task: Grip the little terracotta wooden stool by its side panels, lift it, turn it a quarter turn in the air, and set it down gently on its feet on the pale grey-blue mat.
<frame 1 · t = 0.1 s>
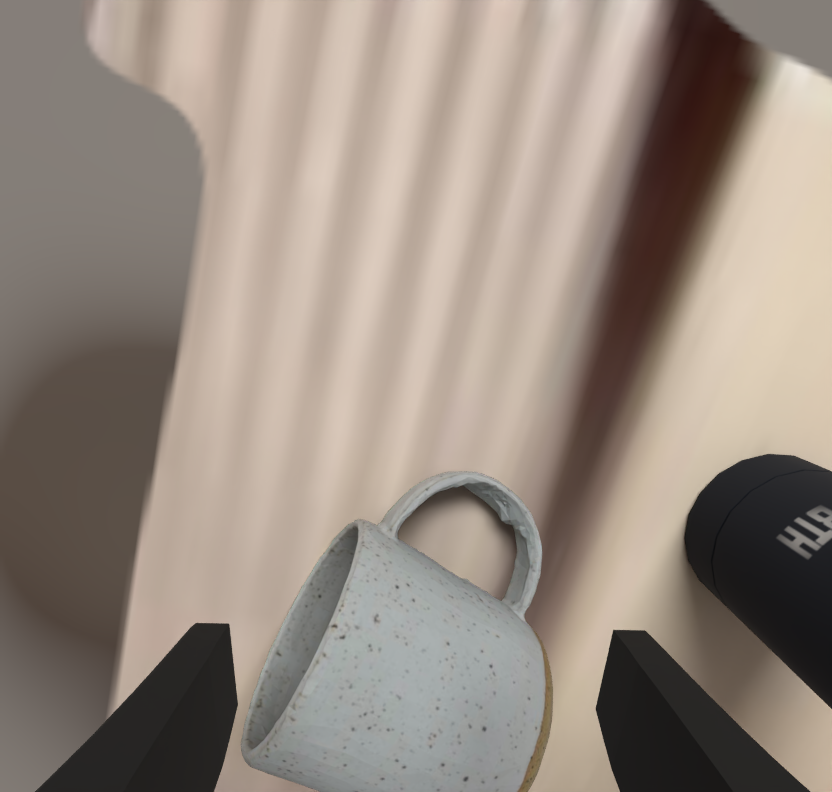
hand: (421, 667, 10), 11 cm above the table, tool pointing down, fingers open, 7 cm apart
ceramic mug: (413, 577, 22), on the table
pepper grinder: (759, 527, 21), on the table
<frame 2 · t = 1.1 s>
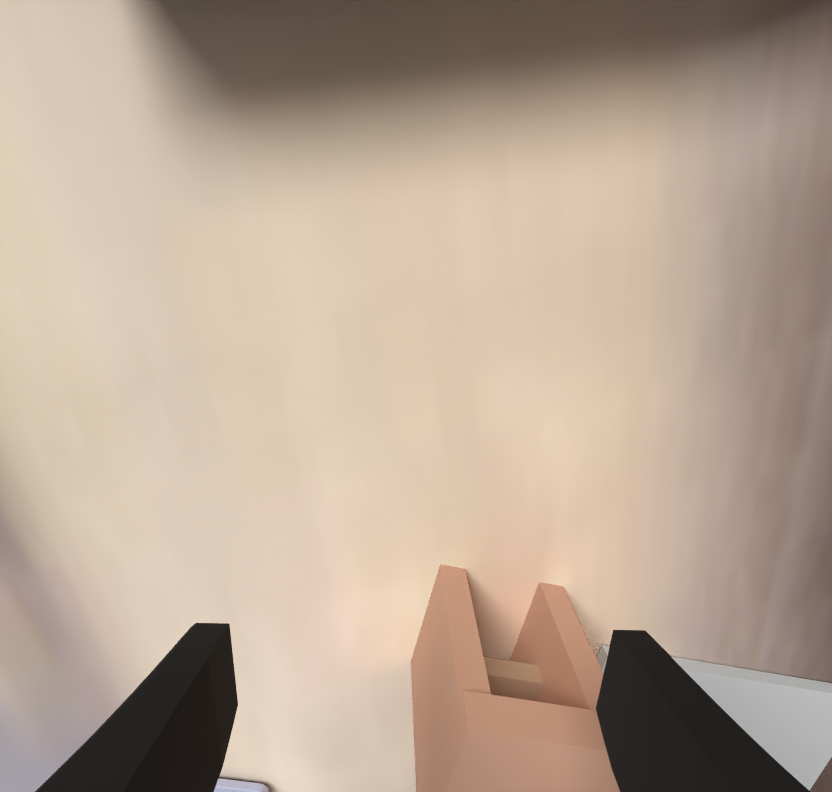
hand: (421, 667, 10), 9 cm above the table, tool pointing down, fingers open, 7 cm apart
stool: (485, 625, 21), on the table
mat: (679, 767, 24), on the table
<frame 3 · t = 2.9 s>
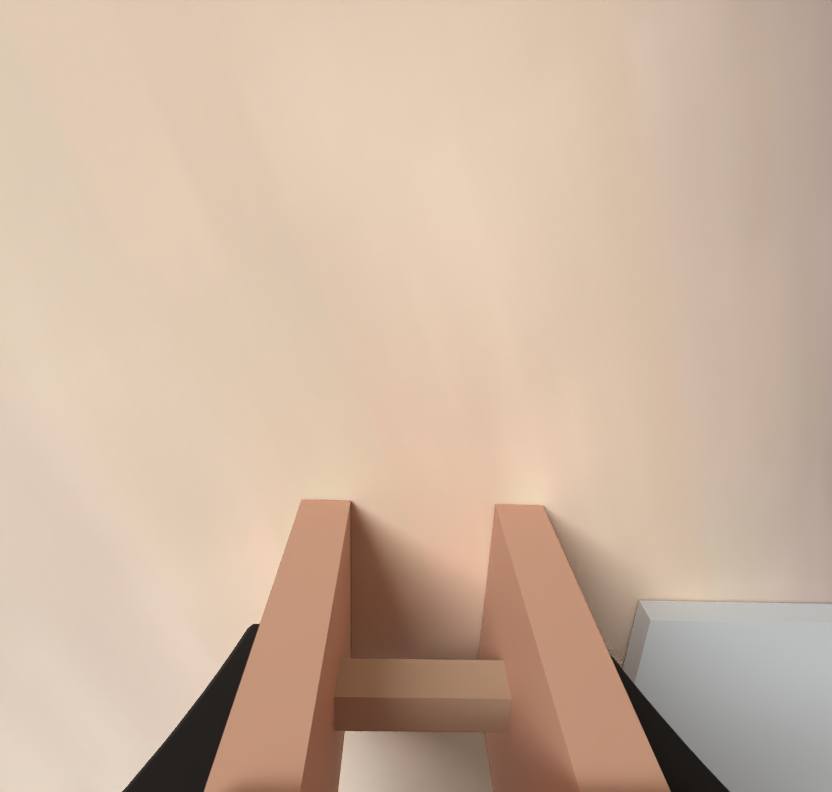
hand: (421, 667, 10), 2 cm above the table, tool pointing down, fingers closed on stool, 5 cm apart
stool: (418, 595, 12), on the table, touching gripper
mat: (815, 781, 14), on the table
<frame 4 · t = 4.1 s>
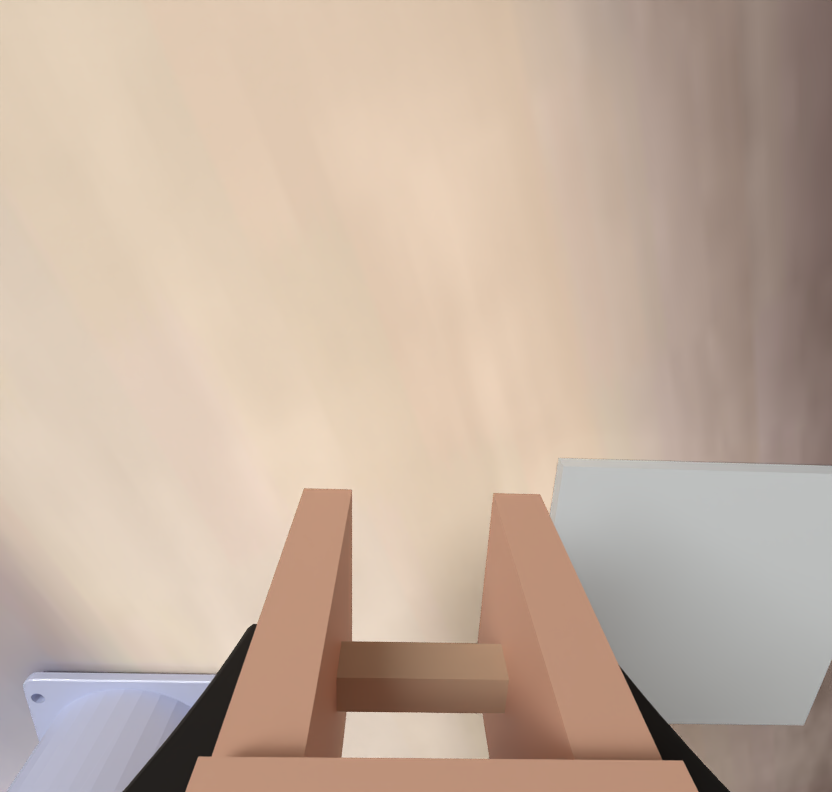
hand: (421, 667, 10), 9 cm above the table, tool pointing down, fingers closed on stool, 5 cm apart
stool: (418, 583, 12), point 7 cm above the table, touching gripper
mat: (689, 599, 21), on the table
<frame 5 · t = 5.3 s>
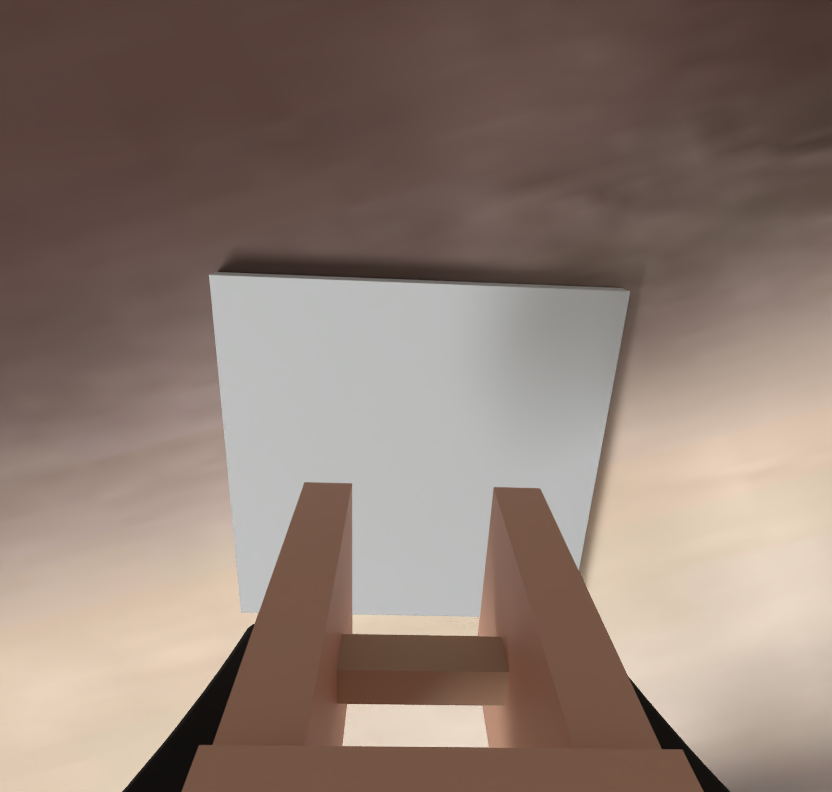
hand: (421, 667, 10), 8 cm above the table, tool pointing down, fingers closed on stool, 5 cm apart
stool: (418, 577, 12), point 6 cm above the table, touching gripper
mat: (413, 461, 18), on the table
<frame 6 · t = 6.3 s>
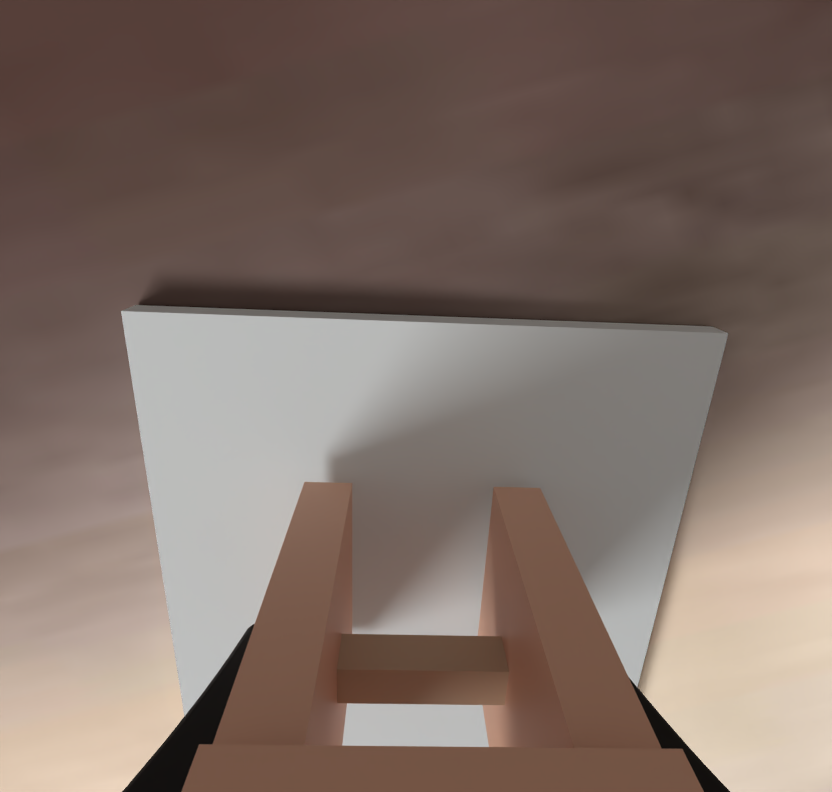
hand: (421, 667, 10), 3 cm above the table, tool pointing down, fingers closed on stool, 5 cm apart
stool: (418, 577, 12), point 1 cm above the table, touching gripper
mat: (417, 554, 13), on the table
when the fingers open (3 cm above the table, at t = 6.9 s): stool stays where it is, resting on mat.
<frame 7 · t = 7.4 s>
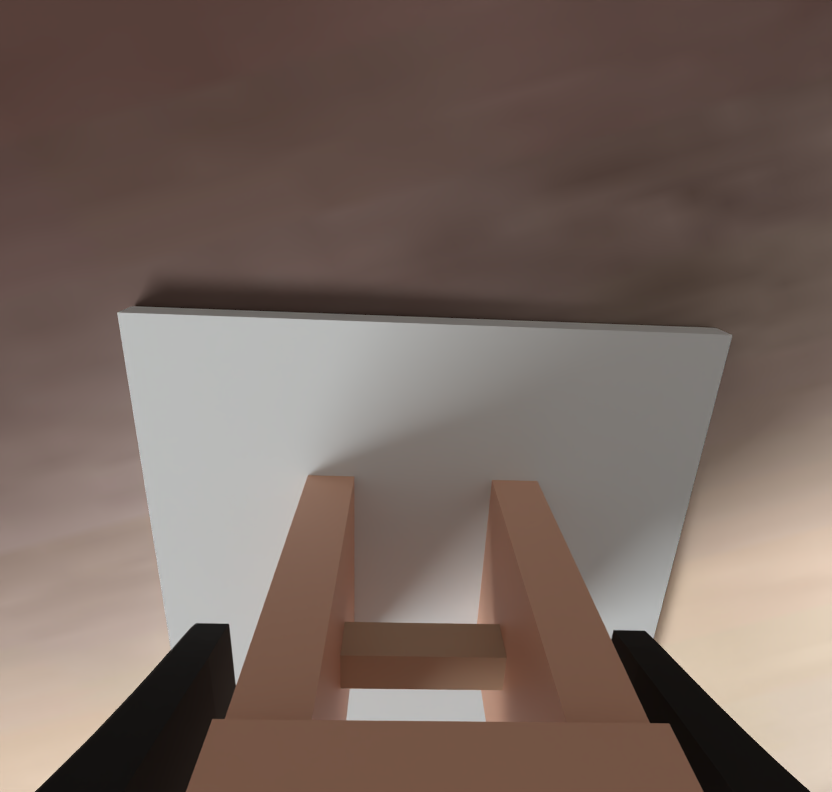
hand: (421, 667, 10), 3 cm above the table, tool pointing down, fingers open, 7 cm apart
stool: (418, 568, 12), point 1 cm above the table, touching mat
mat: (417, 558, 13), on the table
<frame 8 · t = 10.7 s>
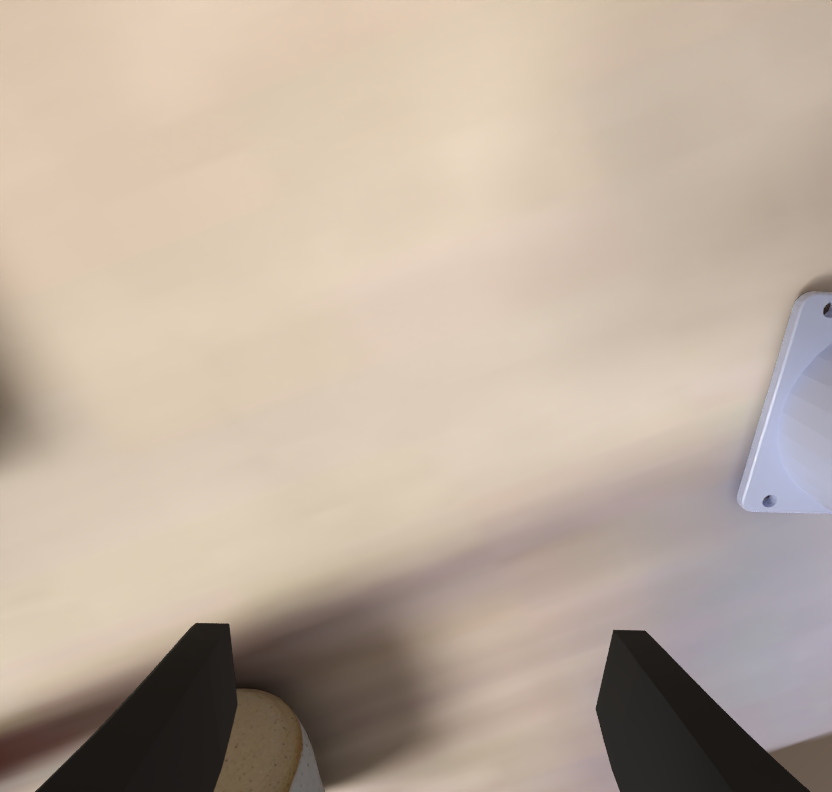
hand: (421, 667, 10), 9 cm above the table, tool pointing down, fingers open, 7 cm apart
ceramic mug: (229, 743, 24), on the table
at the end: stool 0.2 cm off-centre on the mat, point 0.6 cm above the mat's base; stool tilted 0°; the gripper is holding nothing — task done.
